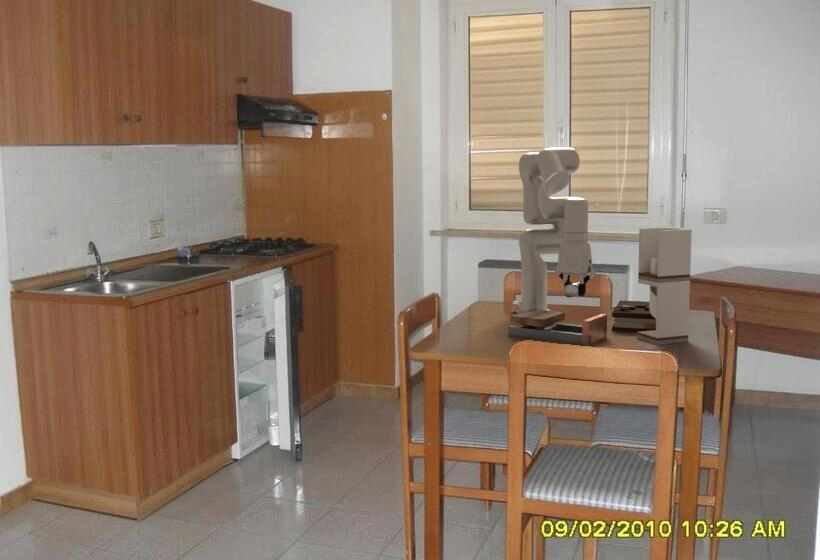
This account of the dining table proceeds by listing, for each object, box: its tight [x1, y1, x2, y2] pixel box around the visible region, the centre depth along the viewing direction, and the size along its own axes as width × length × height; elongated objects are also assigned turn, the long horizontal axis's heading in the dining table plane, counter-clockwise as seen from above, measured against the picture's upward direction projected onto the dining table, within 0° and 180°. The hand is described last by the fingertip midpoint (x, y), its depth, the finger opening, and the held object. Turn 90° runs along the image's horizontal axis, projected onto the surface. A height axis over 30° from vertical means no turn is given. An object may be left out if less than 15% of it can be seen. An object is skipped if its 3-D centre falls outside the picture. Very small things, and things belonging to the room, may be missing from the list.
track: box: [508, 313, 608, 346], centre depth 276 cm, size 28×14×8 cm, turn 54°
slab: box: [510, 309, 566, 327], centre depth 280 cm, size 12×15×2 cm
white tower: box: [636, 226, 693, 346], centre depth 267 cm, size 11×11×35 cm
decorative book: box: [609, 300, 656, 333], centre depth 293 cm, size 19×8×30 cm
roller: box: [562, 281, 580, 299], centre depth 270 cm, size 4×8×4 cm, turn 144°
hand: (574, 294), depth 271 cm, fingers closed on roller, 4 cm apart
